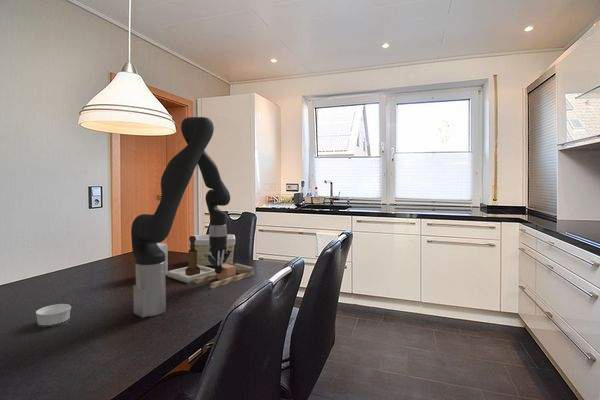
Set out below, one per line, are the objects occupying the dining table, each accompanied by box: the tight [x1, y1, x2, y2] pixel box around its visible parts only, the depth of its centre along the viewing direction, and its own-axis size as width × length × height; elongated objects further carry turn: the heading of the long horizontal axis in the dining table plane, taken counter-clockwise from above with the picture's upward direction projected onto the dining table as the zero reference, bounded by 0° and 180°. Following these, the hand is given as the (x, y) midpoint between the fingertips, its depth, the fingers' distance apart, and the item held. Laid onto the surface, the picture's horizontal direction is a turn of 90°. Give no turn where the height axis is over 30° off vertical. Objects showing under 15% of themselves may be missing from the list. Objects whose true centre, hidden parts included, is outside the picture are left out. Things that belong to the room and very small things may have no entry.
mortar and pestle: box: [185, 235, 200, 276], centre depth 153 cm, size 7×6×18 cm
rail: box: [194, 262, 255, 290], centre depth 149 cm, size 24×12×4 cm, turn 143°
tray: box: [167, 265, 215, 284], centre depth 154 cm, size 16×16×2 cm
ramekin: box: [35, 303, 72, 326], centre depth 103 cm, size 9×9×4 cm
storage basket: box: [188, 233, 236, 267], centre depth 178 cm, size 24×16×15 cm
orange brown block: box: [216, 264, 237, 281], centre depth 149 cm, size 5×7×6 cm
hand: (218, 273), depth 146 cm, fingers closed
